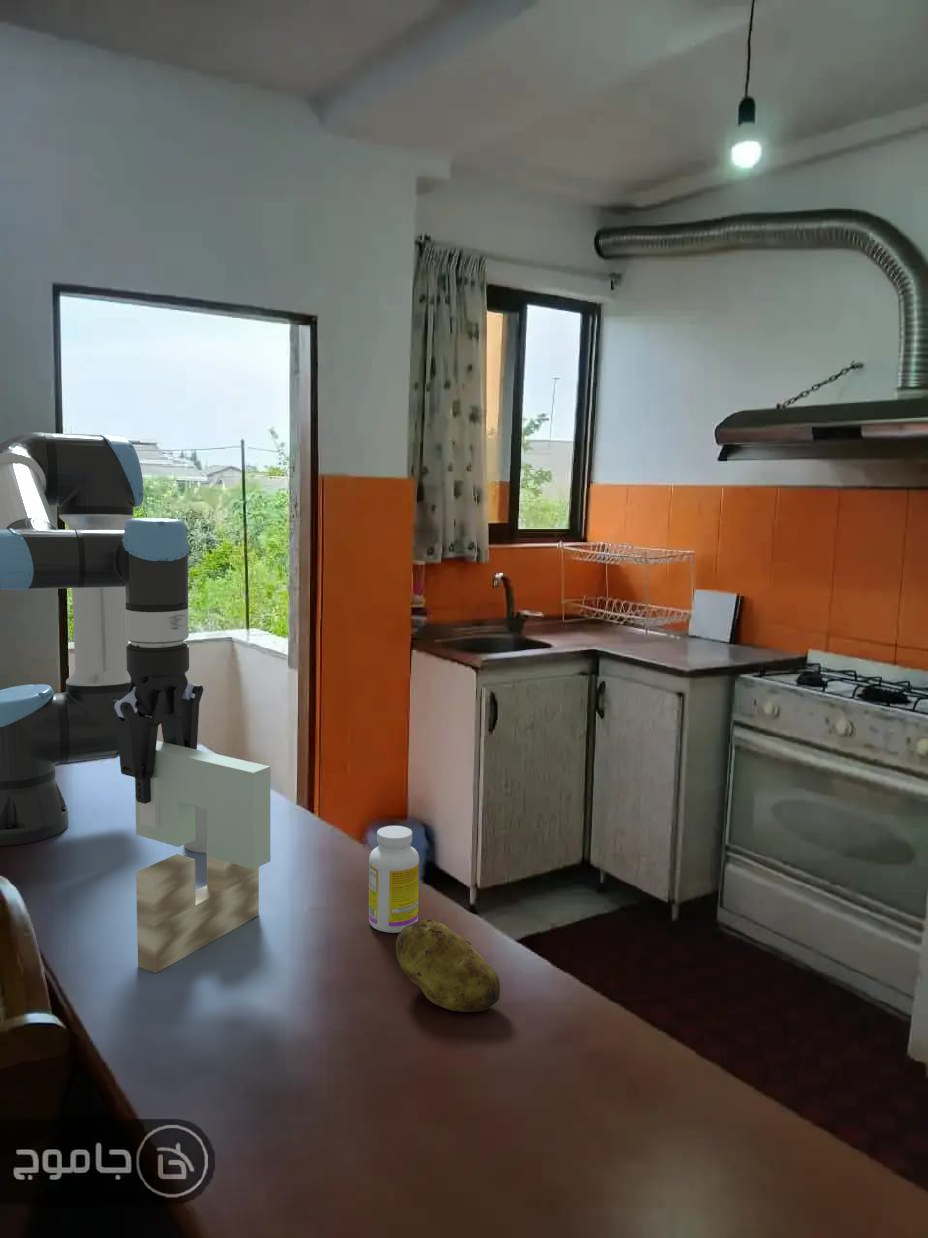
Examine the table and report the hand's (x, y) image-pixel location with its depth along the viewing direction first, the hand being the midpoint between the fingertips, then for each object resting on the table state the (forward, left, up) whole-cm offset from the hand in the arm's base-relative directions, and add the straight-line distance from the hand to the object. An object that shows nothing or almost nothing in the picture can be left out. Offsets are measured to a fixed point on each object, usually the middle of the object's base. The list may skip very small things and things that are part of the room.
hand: (160, 820), depth 121 cm
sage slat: (+7, 0, -2) cm, 7 cm away
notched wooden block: (+7, 0, -14) cm, 16 cm away
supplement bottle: (+25, +17, -15) cm, 34 cm away
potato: (+40, +5, -15) cm, 43 cm away
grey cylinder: (-15, +24, -15) cm, 32 cm away
